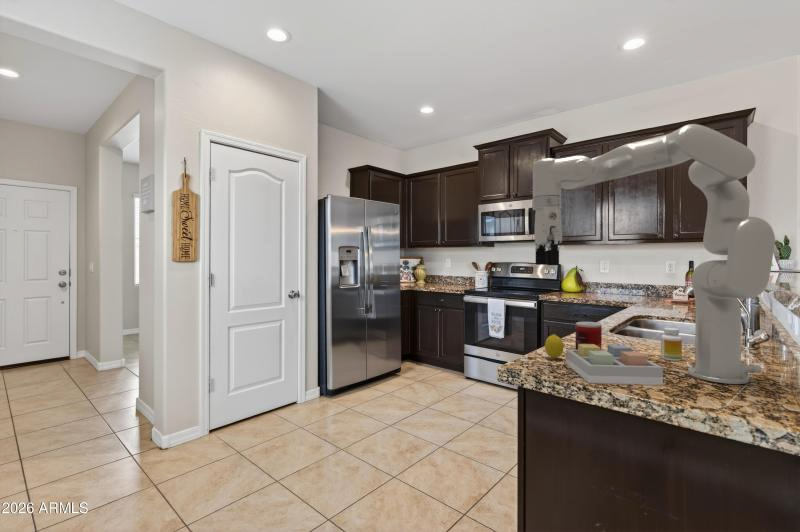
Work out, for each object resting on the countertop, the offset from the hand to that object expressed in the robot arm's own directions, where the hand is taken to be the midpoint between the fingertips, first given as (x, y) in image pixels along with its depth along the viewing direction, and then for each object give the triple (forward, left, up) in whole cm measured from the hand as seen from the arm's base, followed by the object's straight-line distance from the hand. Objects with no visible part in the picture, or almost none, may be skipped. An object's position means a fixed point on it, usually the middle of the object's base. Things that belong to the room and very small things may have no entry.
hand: (546, 264), depth 108 cm
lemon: (-6, -16, -31) cm, 35 cm away
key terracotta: (-22, +3, -27) cm, 35 cm away
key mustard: (-13, -5, -27) cm, 30 cm away
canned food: (-18, -20, -31) cm, 41 cm away
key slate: (-22, -5, -27) cm, 35 cm away
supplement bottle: (-43, -19, -31) cm, 56 cm away
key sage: (-13, +3, -27) cm, 30 cm away
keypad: (-17, -1, -31) cm, 35 cm away
